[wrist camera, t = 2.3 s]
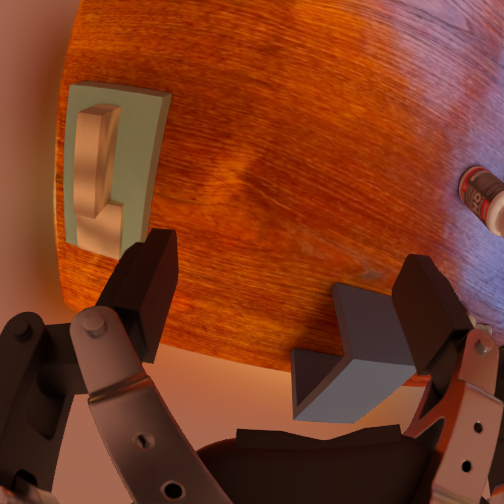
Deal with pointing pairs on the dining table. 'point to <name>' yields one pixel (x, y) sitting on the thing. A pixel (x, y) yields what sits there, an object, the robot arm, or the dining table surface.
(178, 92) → the dining table surface
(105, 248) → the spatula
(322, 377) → the upper shelf
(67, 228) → the low shelf
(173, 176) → the dining table surface
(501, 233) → the pill bottle
